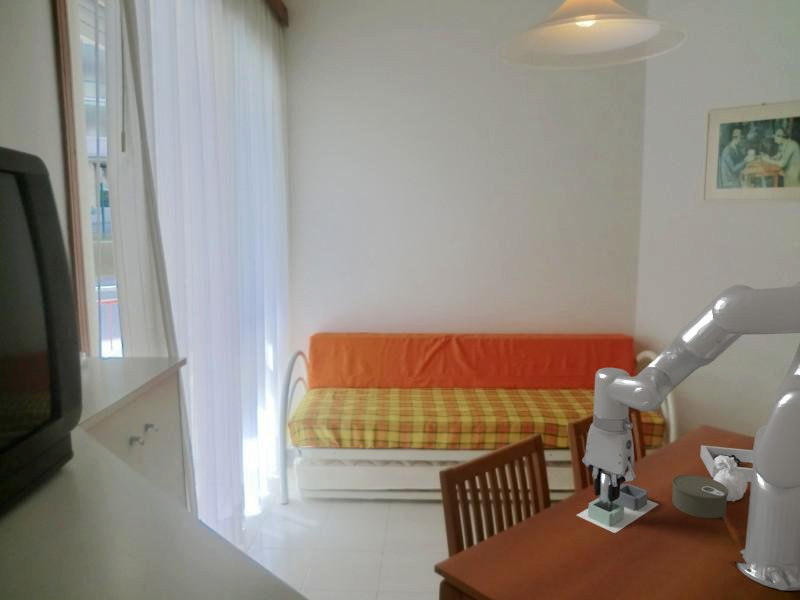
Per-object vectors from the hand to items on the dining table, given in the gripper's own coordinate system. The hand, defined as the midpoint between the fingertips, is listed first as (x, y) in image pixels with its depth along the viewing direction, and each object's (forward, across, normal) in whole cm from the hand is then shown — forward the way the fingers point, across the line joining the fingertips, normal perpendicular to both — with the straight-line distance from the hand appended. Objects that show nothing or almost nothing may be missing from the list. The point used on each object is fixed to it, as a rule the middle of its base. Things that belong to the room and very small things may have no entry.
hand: (606, 496), depth 133 cm
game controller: (+7, -6, -53) cm, 54 cm away
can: (+7, -12, -22) cm, 26 cm away
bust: (+7, -13, -36) cm, 39 cm away
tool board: (+7, 0, -6) cm, 9 cm away
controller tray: (+7, -8, -54) cm, 55 cm away
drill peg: (+4, 0, 0) cm, 4 cm away
